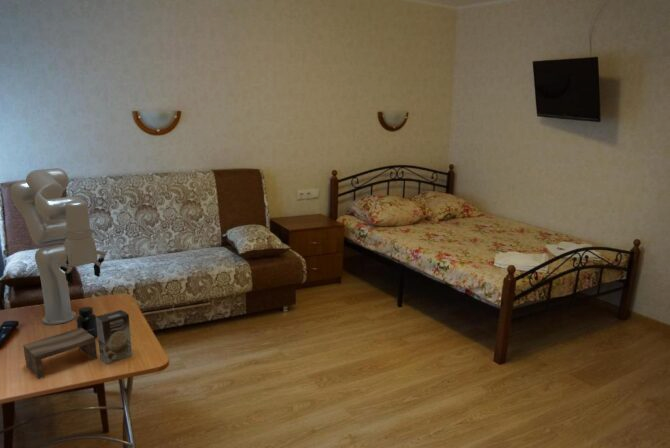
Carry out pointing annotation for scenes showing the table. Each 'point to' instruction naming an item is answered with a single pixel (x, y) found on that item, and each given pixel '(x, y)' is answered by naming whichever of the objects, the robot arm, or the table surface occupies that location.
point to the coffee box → (114, 336)
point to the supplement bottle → (87, 321)
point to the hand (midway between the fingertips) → (83, 278)
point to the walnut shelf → (58, 348)
